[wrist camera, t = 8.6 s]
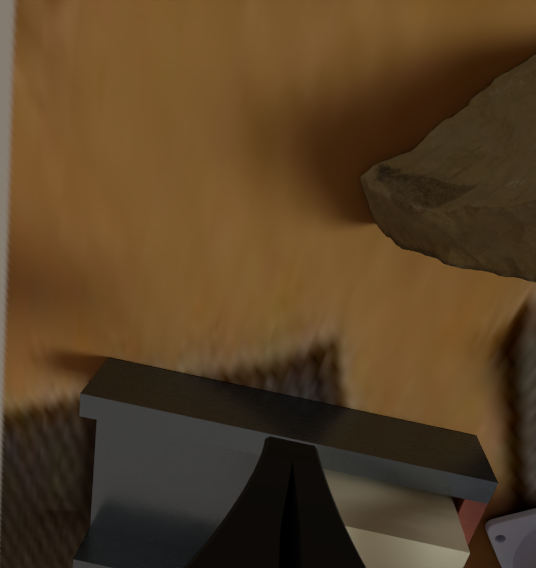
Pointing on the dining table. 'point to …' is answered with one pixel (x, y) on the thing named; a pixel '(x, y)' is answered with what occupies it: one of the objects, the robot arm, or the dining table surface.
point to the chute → (237, 459)
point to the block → (398, 523)
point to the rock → (468, 183)
